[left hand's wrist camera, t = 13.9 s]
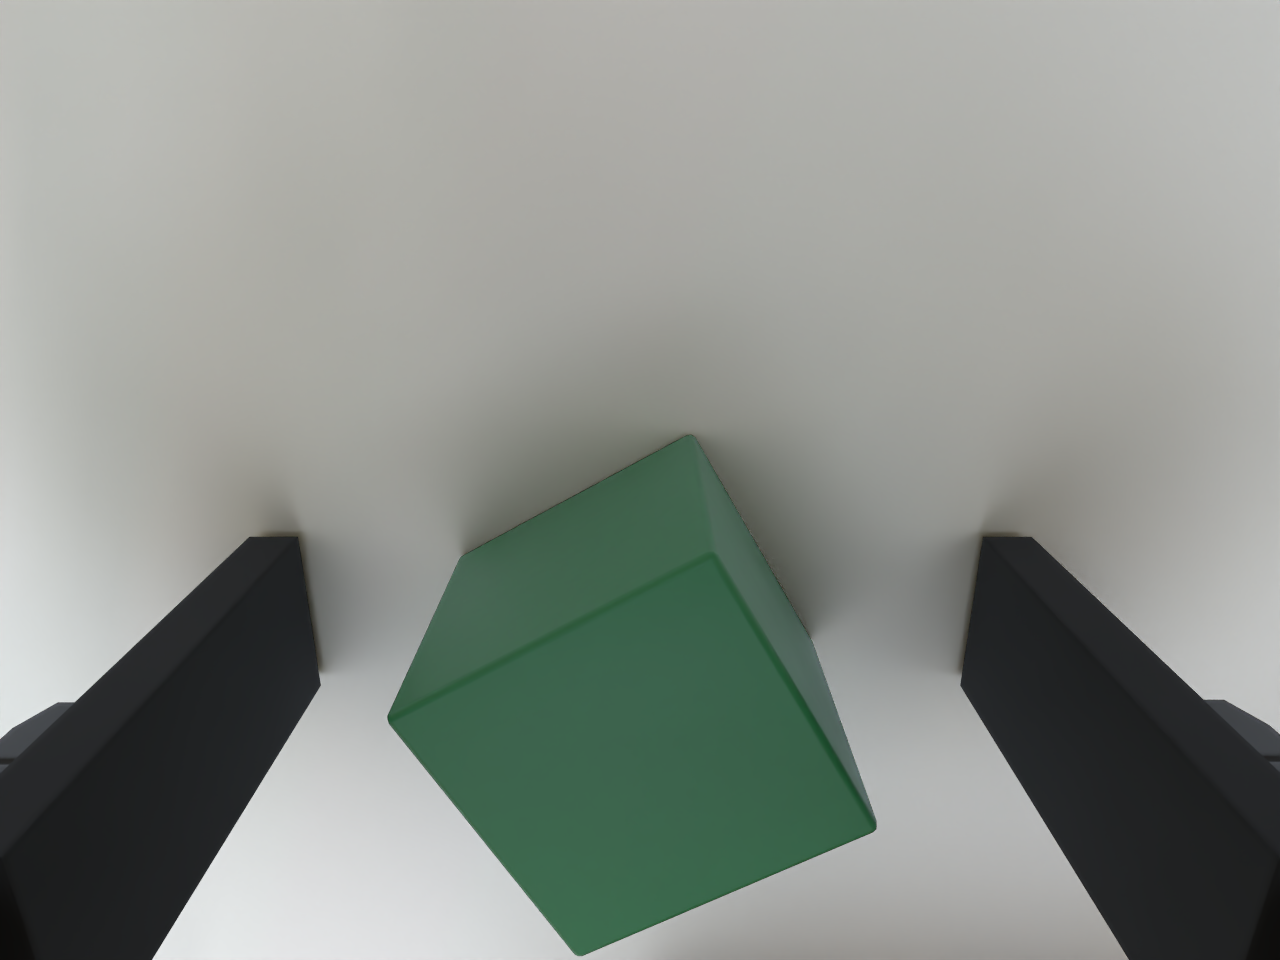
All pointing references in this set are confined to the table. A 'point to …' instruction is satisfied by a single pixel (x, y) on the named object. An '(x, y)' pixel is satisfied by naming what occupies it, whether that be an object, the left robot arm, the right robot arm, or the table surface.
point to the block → (631, 706)
